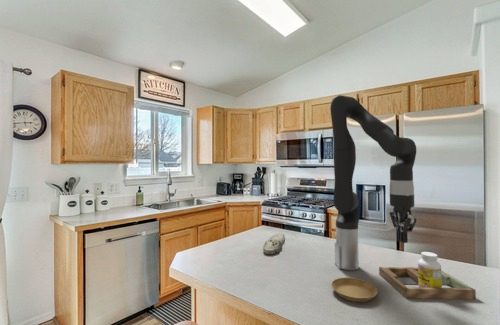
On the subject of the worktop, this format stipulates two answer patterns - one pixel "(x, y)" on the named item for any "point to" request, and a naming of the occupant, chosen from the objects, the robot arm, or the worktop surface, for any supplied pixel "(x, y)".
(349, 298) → the plant saucer
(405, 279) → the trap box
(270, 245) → the elongated rock
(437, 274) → the supplement bottle
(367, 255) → the worktop surface
